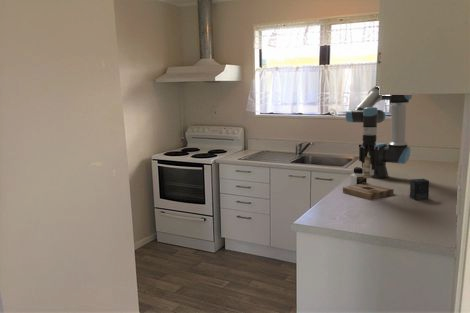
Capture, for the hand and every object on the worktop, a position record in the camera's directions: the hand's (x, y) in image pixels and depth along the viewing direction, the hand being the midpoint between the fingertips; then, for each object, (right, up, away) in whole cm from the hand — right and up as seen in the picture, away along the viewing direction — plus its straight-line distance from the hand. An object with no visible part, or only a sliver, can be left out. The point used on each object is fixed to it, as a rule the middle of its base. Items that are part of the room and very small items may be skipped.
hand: (368, 174), depth 226 cm
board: (0, -11, +2) cm, 11 cm away
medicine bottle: (0, -9, +19) cm, 21 cm away
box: (+24, -13, -12) cm, 30 cm away
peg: (0, -2, 0) cm, 2 cm away
